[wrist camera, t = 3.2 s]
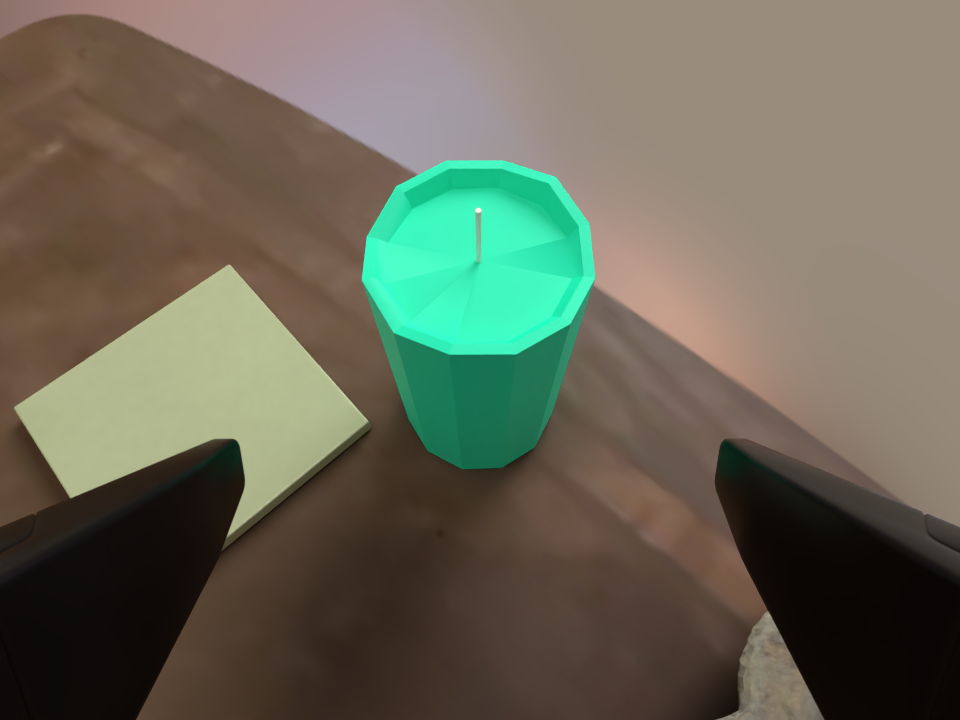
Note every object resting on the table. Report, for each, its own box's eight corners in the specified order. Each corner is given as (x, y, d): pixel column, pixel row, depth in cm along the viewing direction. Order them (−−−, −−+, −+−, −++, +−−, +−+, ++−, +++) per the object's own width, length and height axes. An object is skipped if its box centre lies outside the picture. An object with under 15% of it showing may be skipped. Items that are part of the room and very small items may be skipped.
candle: (475, 309, 26) (472, 78, 15) (582, 395, 25) (663, 205, 14) (376, 402, 24) (291, 215, 14) (483, 503, 23) (485, 382, 12)
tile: (372, 428, 24) (369, 421, 23) (150, 610, 21) (138, 609, 20) (235, 273, 27) (229, 263, 26) (25, 414, 24) (12, 407, 24)
